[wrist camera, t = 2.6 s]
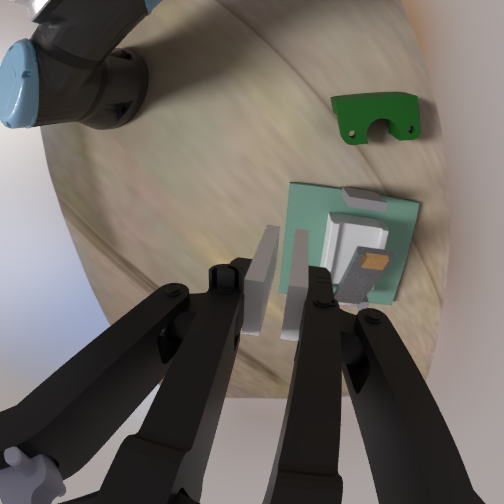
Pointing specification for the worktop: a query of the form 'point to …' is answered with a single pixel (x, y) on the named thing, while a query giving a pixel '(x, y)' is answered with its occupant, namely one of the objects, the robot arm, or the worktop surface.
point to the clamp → (377, 114)
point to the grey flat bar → (362, 274)
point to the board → (315, 223)
